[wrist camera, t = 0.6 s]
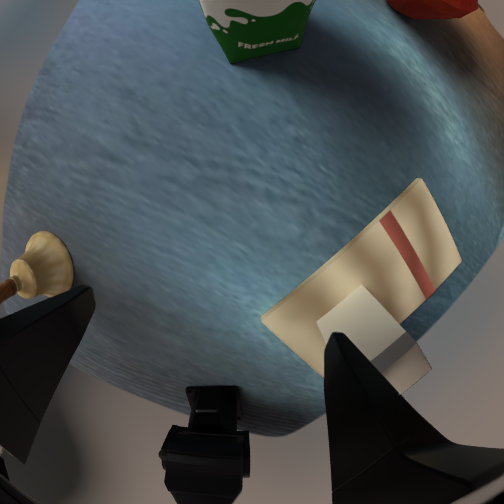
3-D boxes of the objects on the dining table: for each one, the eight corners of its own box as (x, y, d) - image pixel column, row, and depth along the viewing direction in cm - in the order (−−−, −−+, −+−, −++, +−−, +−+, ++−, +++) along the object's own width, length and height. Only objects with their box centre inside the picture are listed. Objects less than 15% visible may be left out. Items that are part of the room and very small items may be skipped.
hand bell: (43, 215, 24) (-63, 255, 9) (85, 269, 26) (-12, 344, 11) (19, 260, 26) (-66, 311, 10) (56, 308, 28) (-20, 381, 12)
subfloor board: (325, 375, 31) (327, 381, 30) (260, 316, 28) (261, 321, 27) (457, 258, 27) (462, 261, 26) (416, 178, 24) (422, 178, 23)
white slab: (336, 343, 28) (370, 415, 18) (315, 321, 27) (347, 396, 17) (379, 308, 27) (432, 368, 17) (361, 283, 26) (416, 342, 16)
